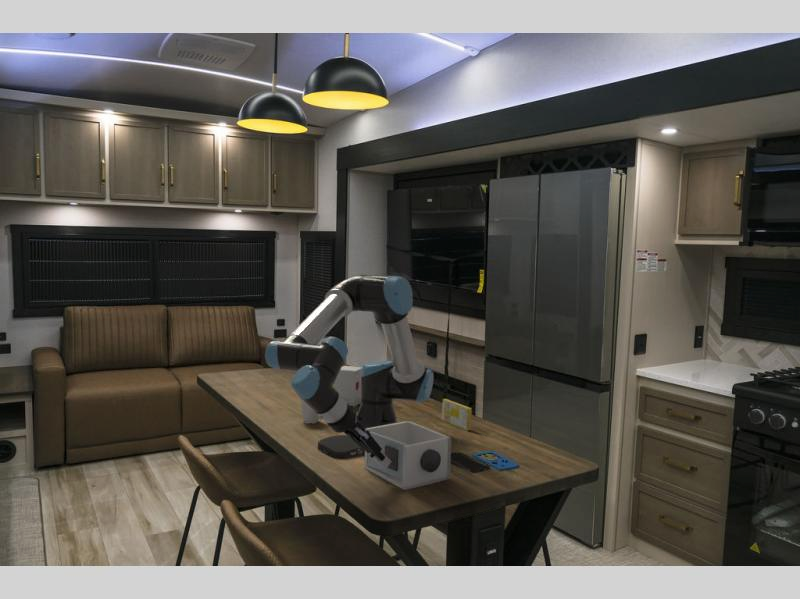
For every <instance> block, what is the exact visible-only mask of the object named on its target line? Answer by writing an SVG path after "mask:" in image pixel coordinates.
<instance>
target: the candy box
mask: <svg viewBox="0 0 800 599" xmlns="http://www.w3.org/2000/svg"><path fill="white" fill-rule="evenodd" d="M441 406H442V409H441V421H443V422H445V421H446V422H445V423H448V424H451V425H452V426H454V425H455V426H454V427H457V428H459V429H462V430H463V431H466V432H469V430H470V431H471V427H472V413H473V411H472V410H473V409H472V407H469V406H466V405H464V404H461V403H459V402H455V401H453V400H450V399H447V398H442V405H441Z"/></svg>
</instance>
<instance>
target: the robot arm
mask: <svg viewBox="0 0 800 599" xmlns="http://www.w3.org/2000/svg"><path fill="white" fill-rule="evenodd" d="M413 295H414V293H413V290H412V286H411V284H410V282H409V281H408V279H407V278H405V277H401V276H396V275H374V274H369V275H368V274H357V275H354V276H350V277H348V278H345V279H344V280H342V281H340V282H337V284H335V285H334V286H333V287H331V289H329V290H328V291H327V292H326V293H325V296H324V300H323V301H322V302H320V304H319V305H318V306H317V307H316V308H314V310H313V311H312V312H310V314H309V315H308V316H306V318H305V319H304V320H302V322H301V323H300V324H299V325H298V326H297V327H296V328H295V329H294V330H293V331H292V332H291V333H290V334H289V335H288V336H286V338H285V339H284V340H279V339H278V340H272V341H270V342H269V343H268V344H267V346H266V347H265V348H266V349H265V352H264V357H265V358H264V359H265V361H266V364H267V365H268V366H269V367H270V368H274V369H279V370H282V371H283V370H284V371H285V370H286V371H296V373H294V374H293V376H292V378H291V381H290V386H291V388H292V389H293V390H294V392H295V393H296V395H298V397H299V398H300V400H301V399H303V400H304V401H305V402H306V403H307V404H308V405H309V406H310V407H311V408H312V409H313V410H314V411H315V412H316V413H317V414H318V415H319V420H320V421H322V420H323V421H324V422H325V423H326V424H327V425H328V426H329V427H330V429H332V430H333V431H334V432H335V433H338V434H341V433H344V435H348V436H349V437H350V438H351V439H352V440H353V441H354V442H355V443H356V444H357V445H358V446H359V447H361V449H362V450H365V451H366V452H367V453H370V457H371V458H374V459H375V460H376V461H377V462H378V463H379V464H380V465H381V467H382V468H384V469H386V468H387V467H388V466H389V464H390V463H391V462H392V461H391V460H390V459H389V458H388V457H387V456H386V455H385V454H384V453H383V452H382V451H381V450H382V448H381V447H380V446H379V444H378V443H377V442H376V441H375V440H374V438H373V437H372V436H371V434H370V433H369V431H367V430H366V431H365V428H371V427H377V426H382V425H388V424H393V423H398V419H397V414H396V411H395V409H394V404H393V403H394V402H393V400H400V401H407V402H415V403H425V402H427V401H428V400H429V398H430V395H431V393H432V391H433V390H432V389H433V385H434V371H432V370H433V369H429V368H428V369H426V367H425V364H424V362H423V361H421V360H420V359H419V358H418V354H417V349H416V347H415V342H414V340H413V335H412V332H411V328H410V324H409V321H408V315H409V313H410V312H411V310H412V307H413V305H414V304H413V303H414V298H413ZM359 311H360V312H367V313H368V312H370V313H372V314H373V317H374V320H375V321H376V322H377V323H379V324H381V327H382V331H383V334H384V338H385V339H386V343H387V346H388V350H389V353H390V356H391V360H377V361H372V362H371V361H370V362H366V363H364V364H363V365H362V373H361V403H360V404H359V408H358V410H357V412H356V410H355V409H354V407H351V406H350V405H349V404H348V403H347V401H346V400H345V399H344V398H343V397H342V396H341V395H340V394H339V393H338V392H337V391H336V390H335V387H334V386H333V385H335V379H336V377H337V375H338V373H339V371H340V369H341V367H343V366H344V364H345V361H346V358H347V356H348V355H349V354H348V353H349V348H348V346H347V344H346V343H345V342H344V340H342V339H340V338H338V337H336V336H328V337H326V338H325V336H326V335H327V334H329V333H330V331H331V330H332V329H333V328H334V326H335V325H336V324H338V322H339V321H341V319H342V318H344V317H347V316H349V315H350V314H351V313H352V312H359ZM323 338H324V339H323ZM322 340H323V341H322ZM320 342H321V343H320ZM319 343H320V344H319Z"/></svg>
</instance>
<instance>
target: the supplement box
mask: <svg viewBox="0 0 800 599" xmlns="http://www.w3.org/2000/svg"><path fill="white" fill-rule="evenodd" d="M362 367H363V366H362ZM362 367H360V366H349V365H342V367H341V369H340V371H339V373H338V375H337V377H336V379H335V381H334V385H335V386H334V389H335V390H336V391H337V392H338V393H339V394H340V395H341V396H342V397H343V398H344V399H345V400H346V401H347V403H348V404H349V405H350V406H355V407H357V406H358V404H359V403H360V404H361V373H362ZM360 404H359V405H360ZM356 405H357V406H356Z"/></svg>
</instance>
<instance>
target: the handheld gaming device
mask: <svg viewBox="0 0 800 599" xmlns="http://www.w3.org/2000/svg"><path fill="white" fill-rule="evenodd" d="M486 454H493V455H492V457H494V458H493V459H488V460H485V459H483V458H481V457H479V456H481V455H484V456H485V457H488V456H487V455H486ZM494 455H495V456H494ZM496 456H497V457H498V458H497V457H496ZM471 457H472V458H474V459H476V460H478V459H479V461H480V460H481V462H482V461H483V463H484V462H485V463H487V464H489V465H490V467H491V468H493V467H494V469H495V468H496V470H498V471H500V472H502V471H508V470H512V469H517V468H519V463H518V462H516V461H514V460H511V459H510V458H507V457H506V456H503V455H502V454H500V453H498V452H496V451H493V450H489V451H483V452H478V453H477V452H476V453H472V454H471Z"/></svg>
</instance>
